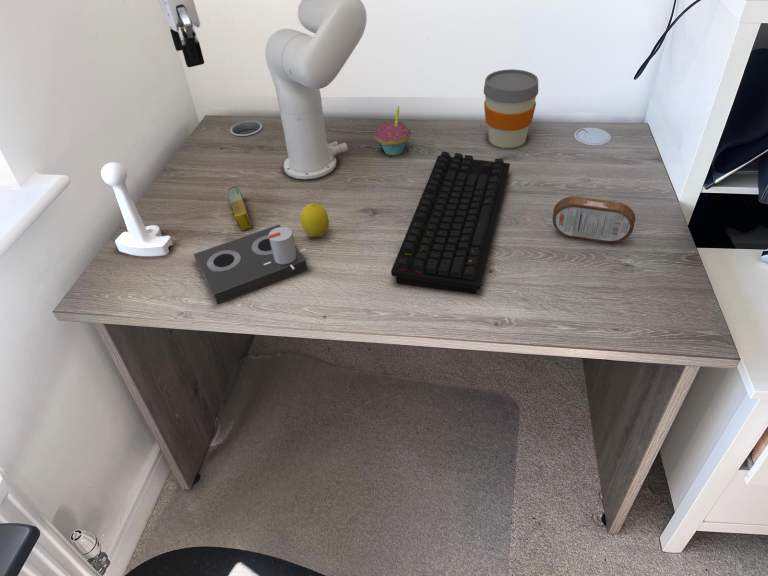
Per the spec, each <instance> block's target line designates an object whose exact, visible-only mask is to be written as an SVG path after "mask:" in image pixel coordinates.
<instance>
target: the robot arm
mask: <svg viewBox="0 0 768 576" xmlns="http://www.w3.org/2000/svg"><path fill="white" fill-rule="evenodd" d="M158 2H159V5H160V8H161V11H162V13H163V16H164V19H165V21H166V22H167V24H168V25H169V27H170V29H169V31H170V35H171V38H172V42H173V45H174V48H175V50H176V51H177V52H180V51H182V54H183V55H182V56H183V59H184V61H185V65H186V67H187V68H193V67H197V66H202V65H204V64H205V59H204V55H203V51H202V47H201V44H200V41H199V39H198V36H197V33H196V30H195V27H196V28H200V26H201V21H200V17H199V15H198V12H197V8H196V4H195V0H158ZM297 19H298V21H299V23H300V24H301V25H302V27H304V28H305V30H307V31H308V32H311V33H313V34H314V35H313V36H311V35H310V34H307V33H304V32H303V31H299V30H296V29H293V28H282V29H278V30H276V31H275V32H273V33H272V34H271V35H270V36H269V38H268V40H267V41H266V44H265V52H264V53H265V61H266V65H267V68H268V71H269V74H270V76H271V79H272V82H273V86H274V90H275V93H276V98H277V102H278V103H277V104H278V108H279V109H278V110H279V114H280V119H281V124H282V130H283V134H284V141H285V145H286V152H287V156H288V157H287V158H285V160H284V162H283V170H284V172H285V174H286V175H287V176H289V177H291V178H293V179H297V180H313V179H318V178H321V177H324V176H327V175H329V174H330V173H331V172H333V171H334V169H335V168H336V166H337V157H336V156H337V154H339V153H343V152H347V151H348V150H349V149H348V145H347V143H346V142H343V143H339V142H338V141H337V140H336V141H332V142H330V143H328V140H327V139H328V138H327V132H326V124H325V118H324V111H323V102H322V95H321V90H320V89H324V88H326V87H328V86H329V85H330V84H331V83H332V82H333V81H334V80H335V78H337V76H338V74H339V73H340V72H341V71H342V69H343V67H344V66H345V64H346V63H347V61H348V60H349V58H350V56H352V53H353V52H354V50H356V47H357V46H358V44H359V43H360V41H361V39H362V37H363V36H364V33H365V30H366V26H367V20H368V19H367V10H366V7H365V5H364V3H363V1H362V0H301V1H300V2H299V5H298V8H297Z"/></svg>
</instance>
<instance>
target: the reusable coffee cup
mask: <svg viewBox="0 0 768 576" xmlns="http://www.w3.org/2000/svg"><path fill="white" fill-rule="evenodd" d="M483 94H484V97H485V99H484V102H483V107H484V118H485V120H484V121H485V123H486V124H487V134H488V141H489V143H490V144H492V145H493V146H495V147H498V148H502V149H512V148H513V149H514V148H518V147H521V146H522V145H524V144H525V143H526V141H527V136H528V132H529V128H530V126H531V124H532V122H533V118H534V115H535V111H536V106H537V101H536V98H537V96H538V95H539V77H538V76H537V75H536V74H534V73H532V72H530V71H527V70H523V69H514V68H513V69H512V68H511V69H500V70H497V71H493V72H491V73H490V74H488V75H486V77H485V80H484V84H483Z"/></svg>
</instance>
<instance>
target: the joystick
mask: <svg viewBox="0 0 768 576" xmlns="http://www.w3.org/2000/svg"><path fill="white" fill-rule="evenodd" d="M100 175H101V178H102V180H103V182H104V183H105V184H107V185H108V186H110V187H111V188H112V189H113V193H114V196H115V198H116V201H117V204H118V206H119V209H120V212H121V215H122V218H123V221H124V224H125V226H126V229H127V231H122V233H120V234H119V236H118V237H117V238H116V239H115V240H114V243H115V246H116V247H117V250H118V252H121V253H124V254H127V255H130V256H135V257H160V256H161V257H162V256H166V255H168V254H169V252H170V250H169V247H172V246H173V245H174V243H173V240H172V237H171V236H170V235H163V234H162V232H161V229H160V227H159V226H158V225H156V224H151V225H147V226H145V223H144V221H143V219H142V217H141V216H140V215H141V214H140V213H139V211H138V209H137V207H136V205H135V202H134V200H133V198H132V196H131V194H130V191H129V189H128V187H127V185H126V181H127V179H128V172H127V169H126V167H125V166H124V165H123V164H122V163H119V162H117V161H109V162H107V163H105V164H104V165H103V166H102V168H101V171H100Z"/></svg>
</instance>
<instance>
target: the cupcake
mask: <svg viewBox="0 0 768 576" xmlns="http://www.w3.org/2000/svg"><path fill="white" fill-rule="evenodd" d="M399 116H400V105H398V106H397V108H396V109H395V119H394V120H395V121H388V122H386V121H385V122H382V123H381V124H380V125H379V126H378V127H376V128H375V129H376V130H375V132H374V140H375V141H376V142H377V143H378V144H380V146H381V147H382V150H383V152H384V153H385V154H386V155H388V156H398V155H401V154H402V153H403V152H404V150H405V146H406V143H408V141H409V139H410V138H411V133H412V132H411V129H410V128H409V127H408V126H407V125H405V123H404V122H400V121H399Z"/></svg>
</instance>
